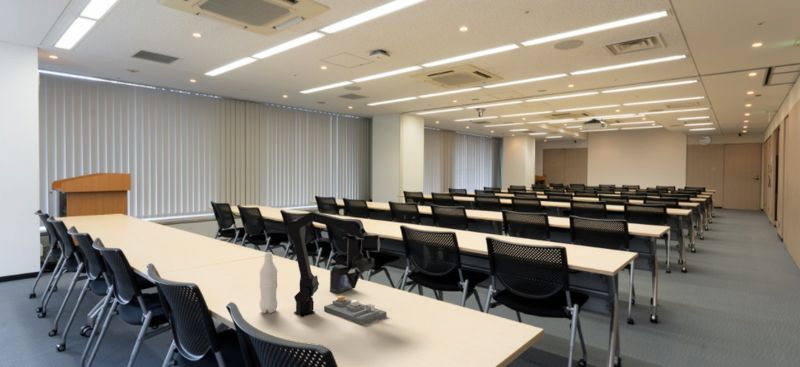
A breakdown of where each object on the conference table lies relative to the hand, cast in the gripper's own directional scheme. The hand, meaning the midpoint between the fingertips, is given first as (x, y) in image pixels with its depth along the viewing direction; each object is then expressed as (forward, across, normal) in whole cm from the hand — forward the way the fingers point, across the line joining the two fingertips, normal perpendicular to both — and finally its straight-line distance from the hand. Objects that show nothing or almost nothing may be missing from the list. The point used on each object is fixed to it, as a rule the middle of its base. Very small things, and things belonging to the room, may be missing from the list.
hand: (353, 288), depth 165 cm
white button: (+8, +2, +1) cm, 9 cm away
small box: (+12, +19, +32) cm, 39 cm away
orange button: (+8, +2, +10) cm, 13 cm away
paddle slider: (+9, +3, -7) cm, 12 cm away
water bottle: (+13, -22, +30) cm, 39 cm away
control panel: (+12, +2, +1) cm, 12 cm away
